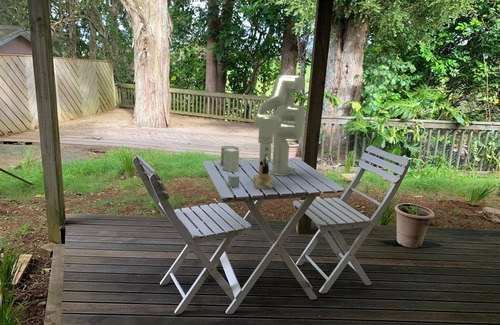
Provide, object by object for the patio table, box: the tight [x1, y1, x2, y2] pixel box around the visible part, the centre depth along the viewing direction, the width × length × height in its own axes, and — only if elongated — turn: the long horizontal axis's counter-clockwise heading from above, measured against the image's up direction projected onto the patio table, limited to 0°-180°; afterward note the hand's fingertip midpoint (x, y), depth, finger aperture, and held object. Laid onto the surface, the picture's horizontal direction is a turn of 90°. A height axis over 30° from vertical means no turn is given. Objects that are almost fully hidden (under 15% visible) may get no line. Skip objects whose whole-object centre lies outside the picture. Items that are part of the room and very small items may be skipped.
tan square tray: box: [253, 174, 274, 190], centre depth 201 cm, size 9×9×5 cm
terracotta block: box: [258, 164, 270, 178], centre depth 200 cm, size 4×4×6 cm
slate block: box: [227, 174, 240, 188], centre depth 198 cm, size 4×4×6 cm
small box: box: [222, 149, 240, 173], centre depth 233 cm, size 8×6×13 cm
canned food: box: [220, 145, 239, 167], centre depth 246 cm, size 11×11×12 cm
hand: (263, 171), depth 200 cm, fingers open, 9 cm apart
